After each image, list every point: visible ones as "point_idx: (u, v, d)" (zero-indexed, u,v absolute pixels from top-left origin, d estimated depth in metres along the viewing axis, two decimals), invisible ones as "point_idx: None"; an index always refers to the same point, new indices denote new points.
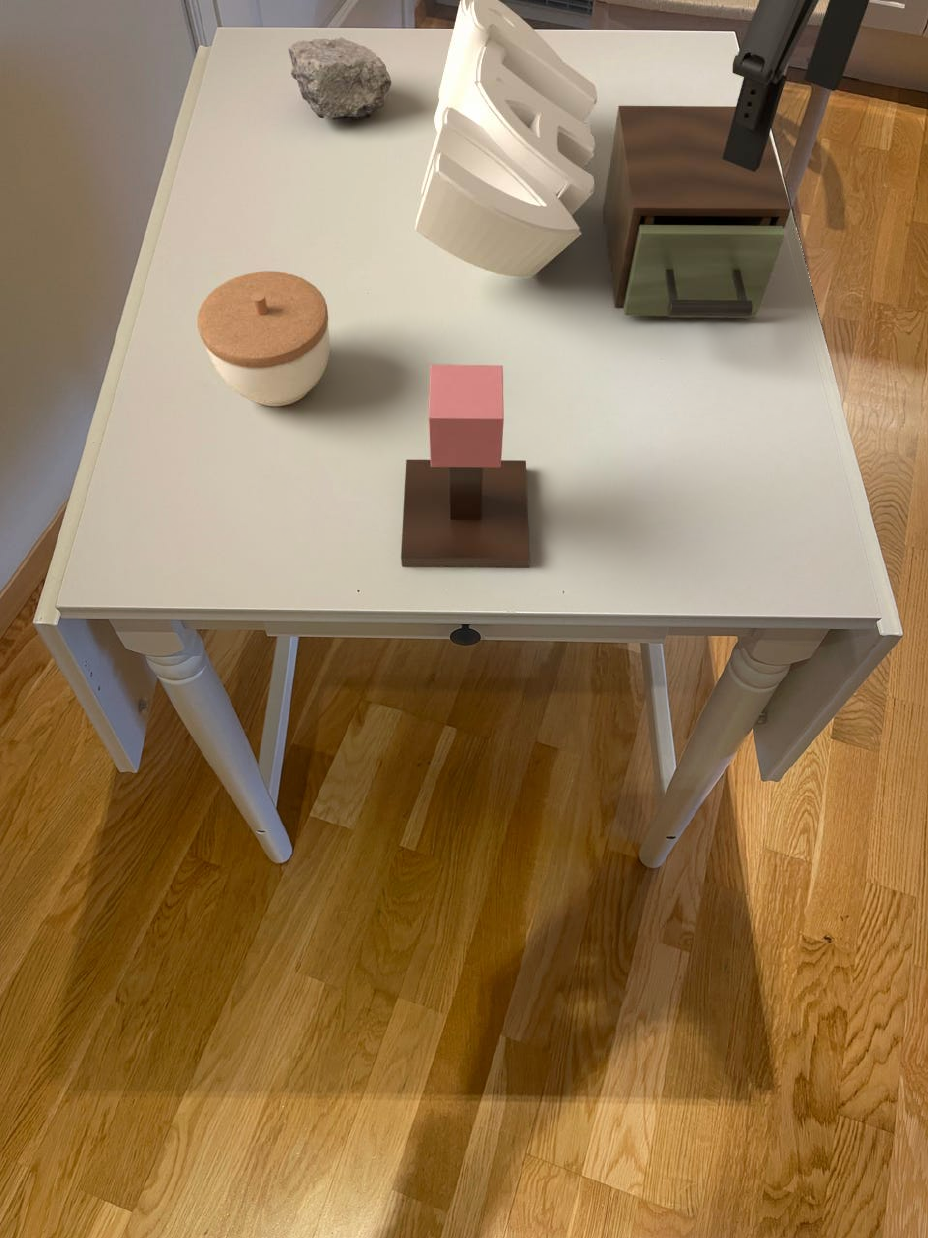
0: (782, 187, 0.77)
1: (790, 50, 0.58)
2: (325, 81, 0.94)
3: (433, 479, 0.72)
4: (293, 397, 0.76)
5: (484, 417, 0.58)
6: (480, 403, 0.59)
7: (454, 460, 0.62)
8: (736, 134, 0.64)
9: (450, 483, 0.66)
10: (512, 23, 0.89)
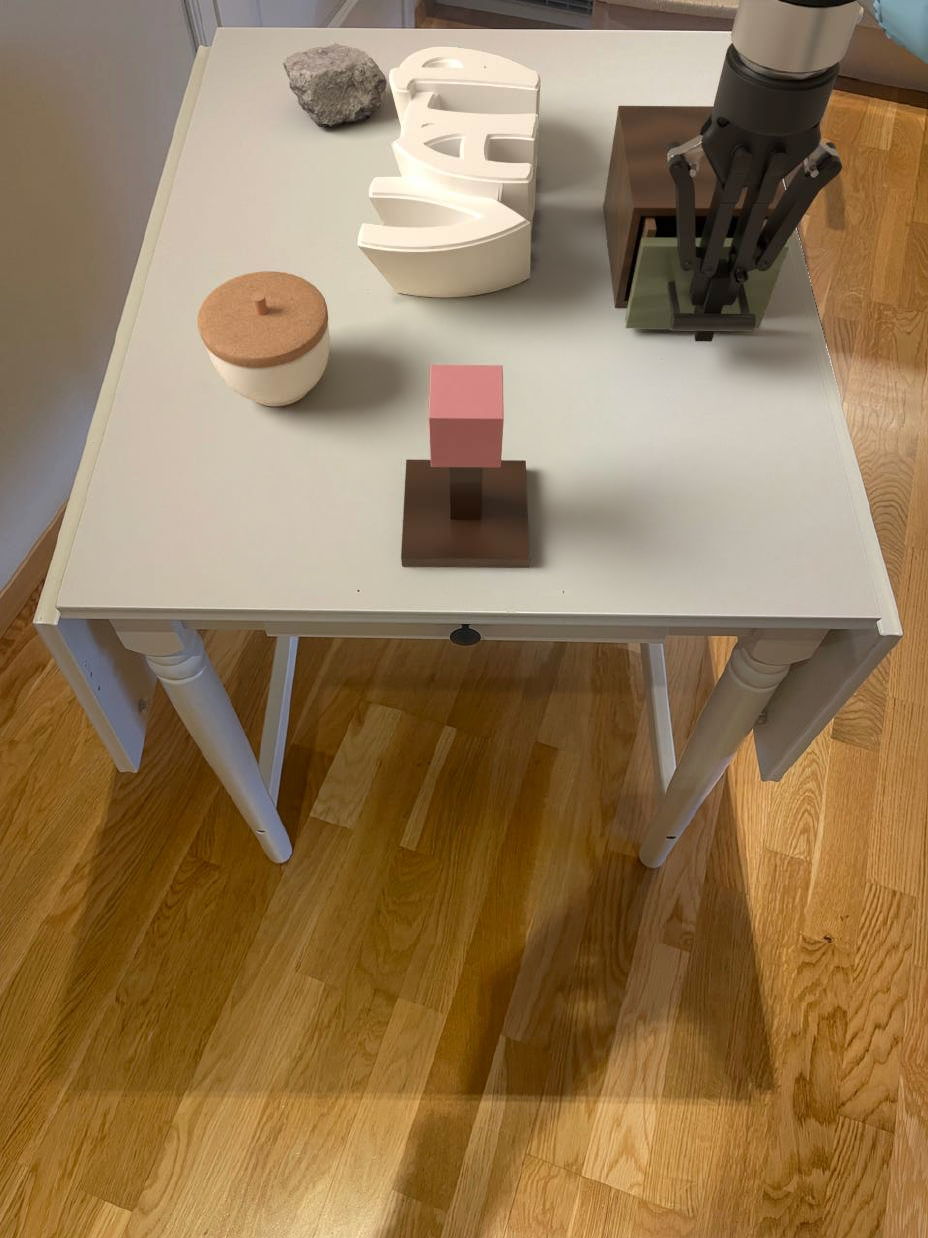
0: (782, 187, 0.77)
1: (710, 257, 0.71)
2: (318, 90, 0.95)
3: (433, 479, 0.72)
4: (293, 397, 0.76)
5: (484, 417, 0.58)
6: (480, 403, 0.59)
7: (454, 460, 0.62)
8: (697, 306, 0.77)
9: (450, 483, 0.66)
10: (455, 59, 0.93)
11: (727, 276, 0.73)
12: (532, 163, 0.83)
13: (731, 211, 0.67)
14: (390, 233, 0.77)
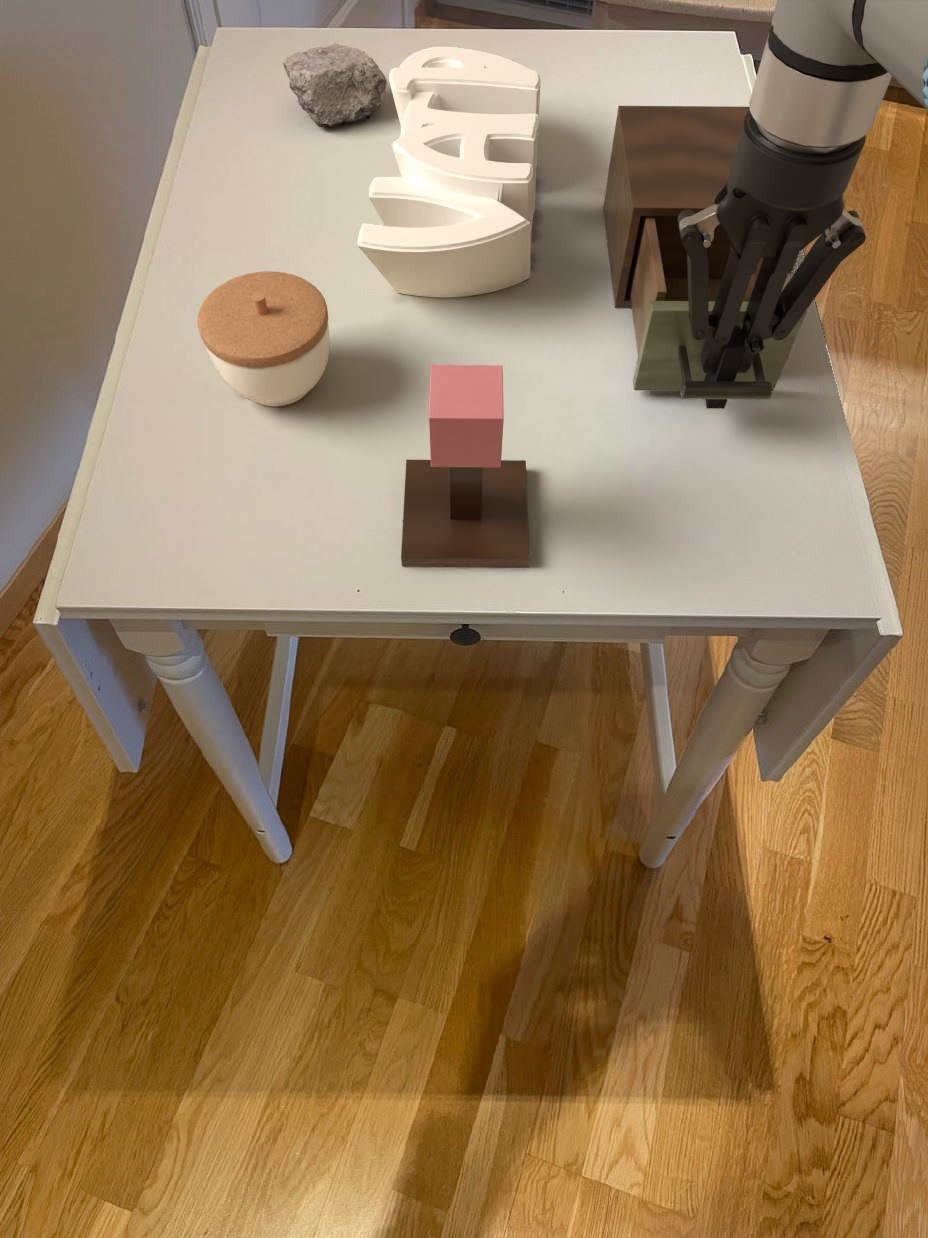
0: None
1: (723, 326, 0.67)
2: (318, 90, 0.95)
3: (433, 479, 0.72)
4: (293, 397, 0.76)
5: (484, 417, 0.58)
6: (480, 403, 0.59)
7: (454, 460, 0.62)
8: None
9: (450, 483, 0.66)
10: (455, 59, 0.93)
11: (741, 345, 0.69)
12: (532, 163, 0.83)
13: (747, 281, 0.63)
14: (390, 233, 0.77)
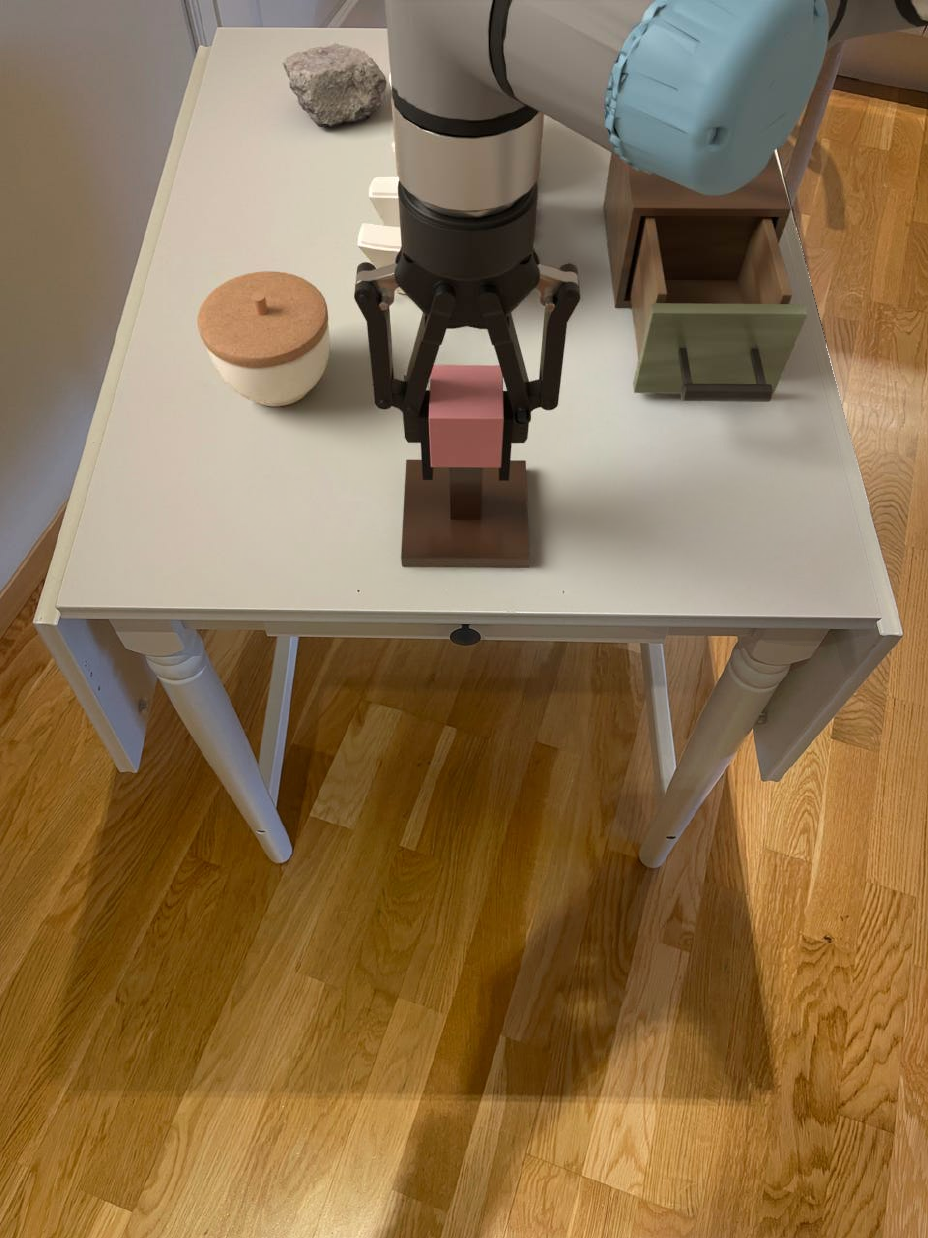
0: (782, 187, 0.77)
1: (412, 395, 0.58)
2: (318, 90, 0.95)
3: (433, 479, 0.72)
4: (293, 397, 0.76)
5: (484, 417, 0.58)
6: (480, 403, 0.59)
7: (454, 460, 0.62)
8: None
9: (450, 483, 0.66)
10: None
11: (509, 414, 0.60)
12: None
13: (435, 351, 0.55)
14: (390, 233, 0.77)
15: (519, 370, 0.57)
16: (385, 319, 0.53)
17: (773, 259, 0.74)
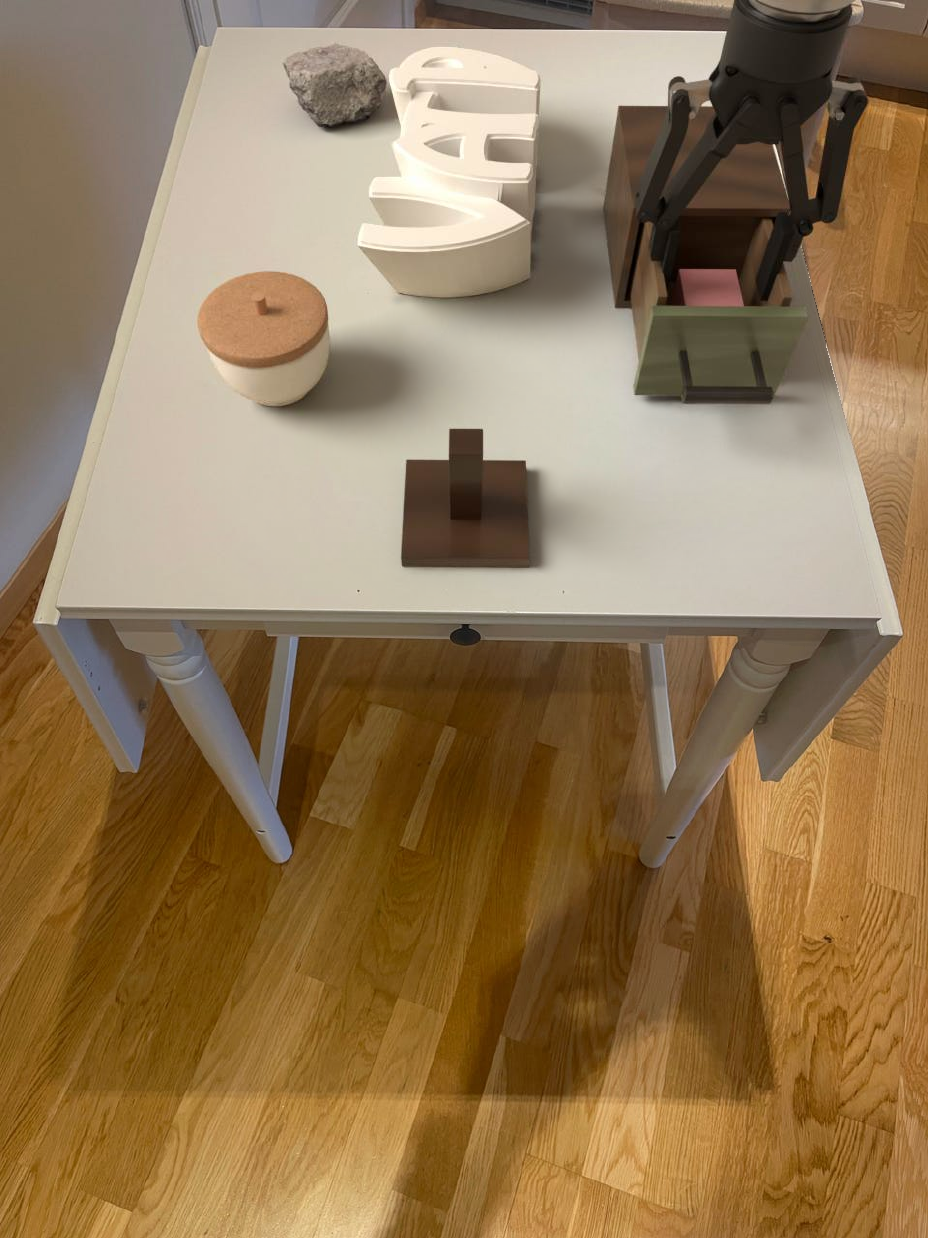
0: (782, 187, 0.77)
1: (674, 207, 0.68)
2: (318, 90, 0.95)
3: (433, 479, 0.72)
4: (293, 397, 0.76)
5: None
6: (723, 297, 0.75)
7: None
8: None
9: (450, 483, 0.66)
10: (455, 59, 0.93)
11: (789, 229, 0.70)
12: (532, 163, 0.83)
13: (714, 165, 0.65)
14: (390, 233, 0.77)
15: (805, 181, 0.66)
16: (686, 129, 0.63)
17: None
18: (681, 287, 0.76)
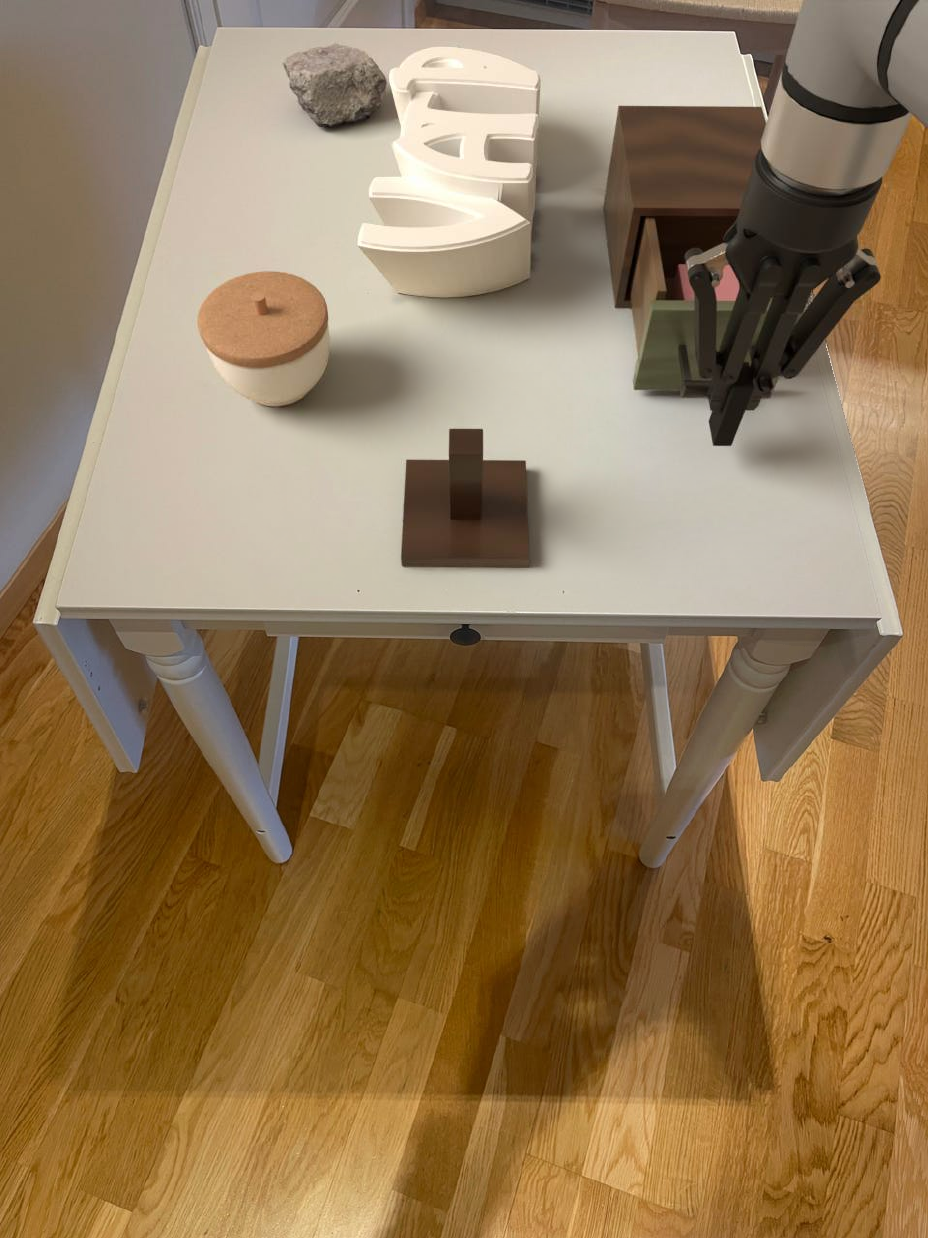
0: None
1: (731, 365, 0.64)
2: (318, 90, 0.95)
3: (433, 479, 0.72)
4: (293, 397, 0.76)
5: None
6: (722, 292, 0.75)
7: None
8: None
9: (450, 483, 0.66)
10: (455, 59, 0.93)
11: (749, 383, 0.66)
12: (532, 163, 0.83)
13: (756, 321, 0.61)
14: (390, 233, 0.77)
15: (786, 341, 0.62)
16: (715, 295, 0.59)
17: None
18: (680, 282, 0.76)
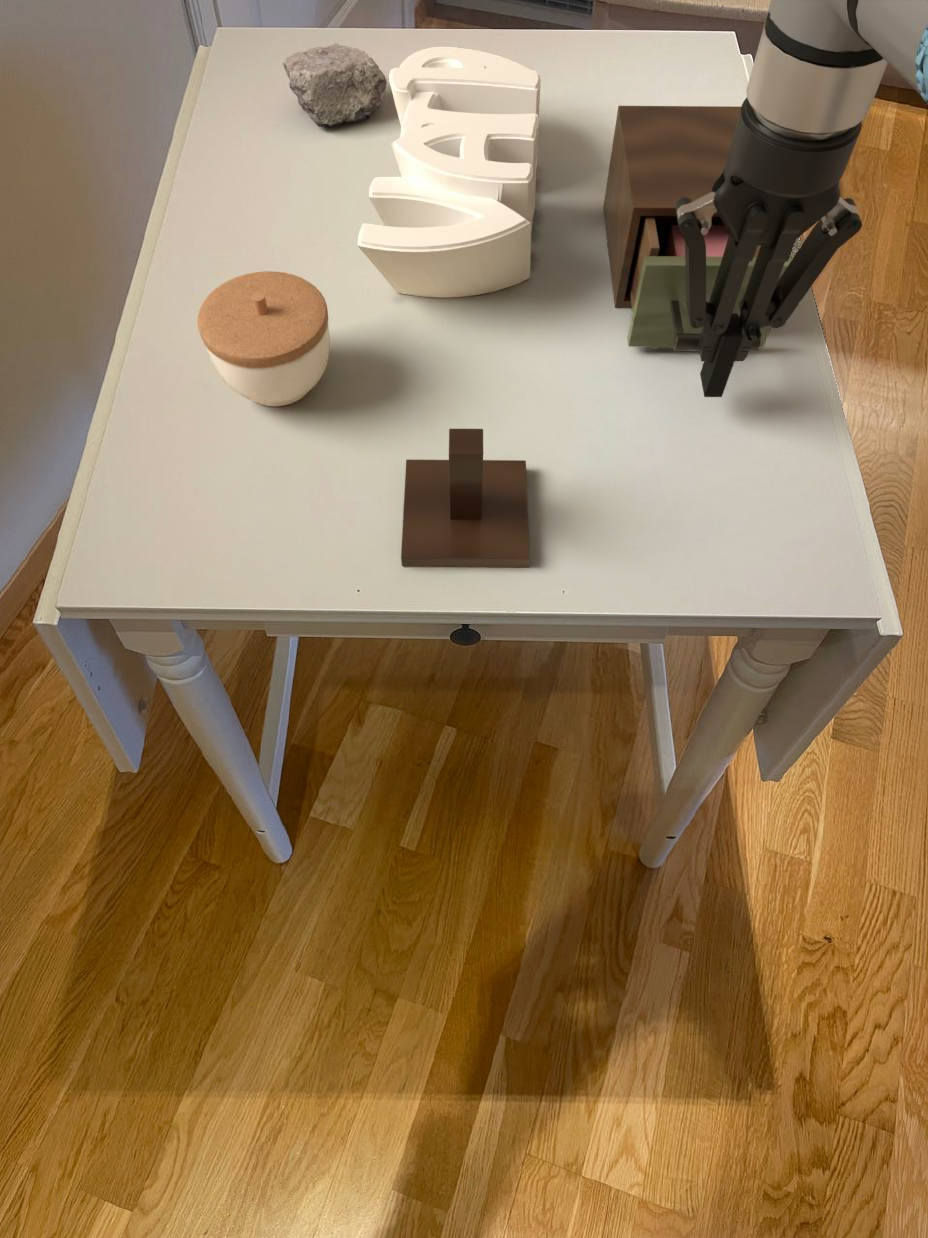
0: None
1: (721, 314, 0.67)
2: (318, 90, 0.95)
3: (433, 479, 0.72)
4: (293, 397, 0.76)
5: None
6: (714, 250, 0.78)
7: None
8: (706, 360, 0.74)
9: (450, 483, 0.66)
10: (455, 59, 0.93)
11: (739, 333, 0.69)
12: (532, 163, 0.83)
13: (744, 269, 0.64)
14: (390, 233, 0.77)
15: (773, 290, 0.65)
16: (704, 243, 0.62)
17: None
18: (673, 242, 0.79)
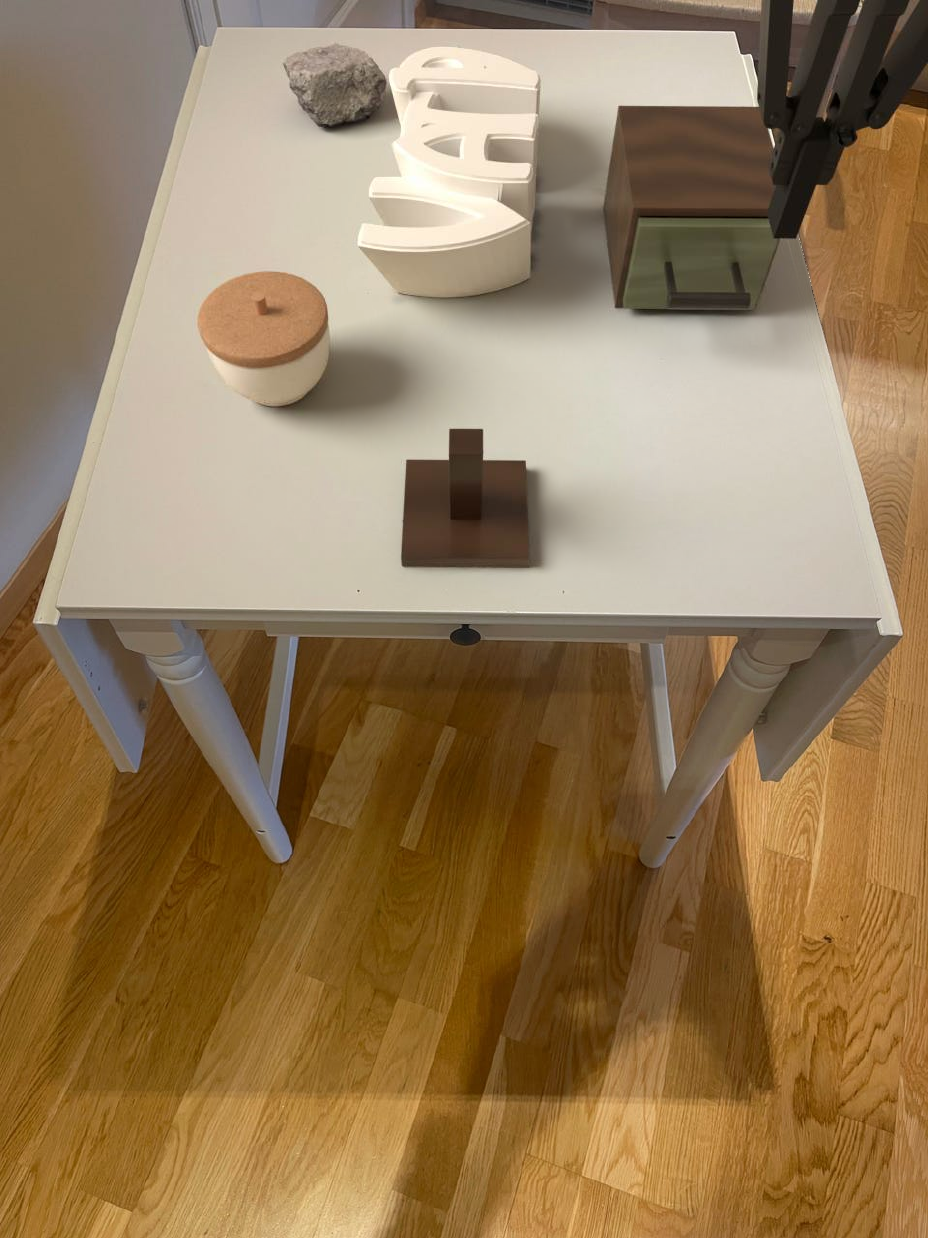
0: None
1: (805, 106, 0.51)
2: (318, 90, 0.95)
3: (433, 479, 0.72)
4: (293, 397, 0.76)
5: None
6: None
7: None
8: (777, 189, 0.57)
9: (450, 483, 0.66)
10: (455, 59, 0.93)
11: (826, 138, 0.53)
12: (532, 163, 0.83)
13: (843, 30, 0.47)
14: (390, 233, 0.77)
15: (878, 66, 0.49)
16: None
17: None
18: None
